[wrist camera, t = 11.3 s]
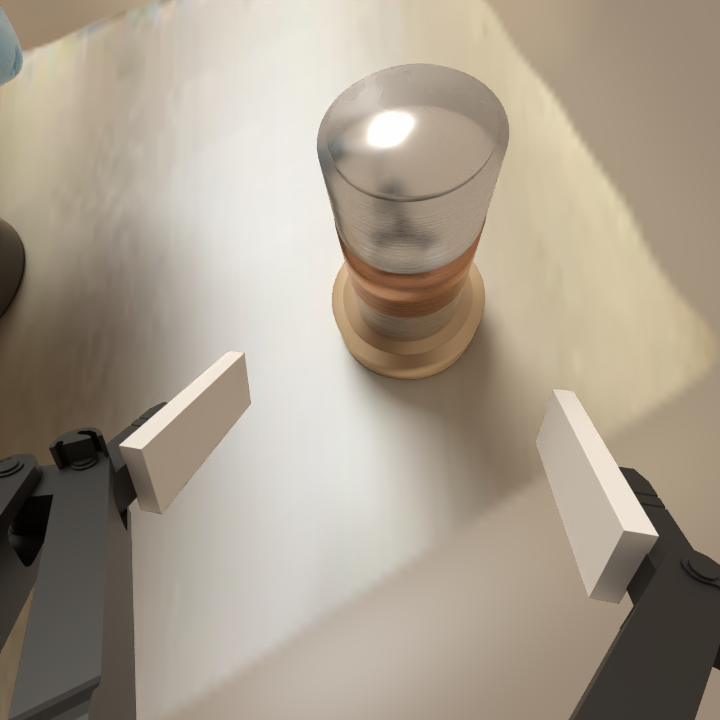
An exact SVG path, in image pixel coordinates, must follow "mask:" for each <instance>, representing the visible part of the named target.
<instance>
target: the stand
mask: <svg viewBox="0 0 720 720" xmlns="http://www.w3.org/2000/svg"><path fill="white" fill-rule="evenodd" d="M484 305H485V290H484V284H483V280H482V277H481V274H480V272H479V270H478V268H477V266H476V265H475V263H474V262H472V265H471V268H470V271H469V274H468V277H467V280H466V283H465V285H464V287H463V290H462V293H461V297H460V300H459V303H458V306H457V309H456V312H455V314H454V316H453V318H452V319H451V321H450V322H449V323H448V324H447V325H446V326H445V327H444V328H443V329H442V330H441V331H440V332H438V333H436V334H435V335H433V336H431V337H429V338H426V339H423V340H419V341H414V342H400V341H394V340H391V339H388V338H385V337H383V336H381V335H379V334H378V333H376V332H375V331H373V330H372V329H371V328H370V327H369V326H368V325H367V324H366V322H365V321H364V319H363V318H362V316H361V314H360V312H359V309H358V305H357V301H356V298H355V294H354V290H353V286H352V284H351V281H350V278H349V275H348V271H347V267H346V264H345V262H344V264H343V265H342V267H341V269H340V270H339V272H338V275H337V277H336V279H335V283H334V286H333V293H332V308H333V314H334V317H335V321H336V323H337V326H338V328H339V330H340V333H341V335H342V337H343V340H344V342H345V344H346V346H347V347H348V349H349V351H350V352H351V353H352V355H353V356H354V357H355V358H356V359H357V360H358V361H359V362H360V363H361V364H362V365H364V366H365V367H367V368H368V369H370V370H371V371H373V372H375V373H377V374H380V375H383V376H386V377H389V378H394V379H404V380H410V379H420V378H425V377H428V376H431V375H434V374H437V373H439V372H441V371H443V370H445V369H446V368H448V367H449V366H451V365H452V364H453V363H454V362H456V361H457V360H458V359H459V358H460V357H461V355H462V354H463V353H464V352H465V350H466V349H467V347H468V346H469V344H470V342H471V340H472V338H473V336H474V334H475V331H476V329H477V327H478V325H479V323H480V321H481V318H482V315H483V312H484Z"/></svg>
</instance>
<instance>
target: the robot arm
mask: <svg viewBox="0 0 720 720" xmlns="http://www.w3.org/2000/svg"><path fill="white" fill-rule="evenodd" d="M22 63H23V57H22V50H21V46H20V43H19V41H18V38H17V36H16V34H15V32H14V30H13V28H12V26H11V24H10V22H9V20H8V18H7V17H6V15H5V13H4V11H3V10H2V8H1V6H0V86H2V85H3V84H5V83H7V82H8V81H10V80H12V79H13V78H15V77H16V76H17V75H18V73H19V72H20V70H21V68H22ZM23 261H24V255H23V247H22V243H21V240H20V238H19V236H18V234H17V232H16V231H15V230H14V228H13V227H12V226H11V225H10V224H8V223H7V222H6V221H4V220H3V219H1V218H0V316H1V314H2V313H3V312H4V310H5V309H6V307H7V306H8V304H9V303H10V301H11V299H12V297H13V295H14V293H15V291H16V289H17V287H18V284H19V281H20V278H21V274H22V270H23ZM250 404H251V401H250V393H249V385H248V377H247V369H246V362H245V354H244V353H241V352H233V351H228V352H227V353H226V354H225V355H223V356H222V357H221V358H220V359H219V360H218V361H217V362H215V363H214V364H213V365H212V366H211V367H210V368H208V369H207V370H206V371H205V372H204V373H203V374H201V375H200V376H199V377H198V378H197V379H196V380H194V381H193V382H192V383H191V384H190V385H189V386H187V387H186V388H185V389H184V390H183V391H182V392H180V393H179V394H178V395H177V396H176V397H175V398H173V399H172V400H171V401H170V402H169V403H166V402H163V403H161V404H159V405H157V406H155V407H153V408H151V409H149V410H148V411H147V412H145V413H144V414H143V415H142V416H141V417H140V418H139V419H137V420H136V421H134V422H133V423H132V424H131V426H128V427H127V428H126V429H125V430H124V431H122V432H121V433H120V434H119V435H117V436H116V437H115V438H114V439H113V440H111V441H110V442H109V443H108V444H107V445H106V444H105V441H104V438H103V436H102V433H101V431H100V430H98V429H96V428H83V429H77V430H74V431H71V432H68V433H66V434H64V435H62V436H60V437H59V438H58V439H56V440H55V441H54V442H53V443H52V444H51V446H50V447H49V449H50V451H51V454H52V456H53V458H54V460H55V462H56V465H50V466H39V464H38V462H37V460H36V458H35V456H33V455H30V454H19V455H15V456H10V457H7V458H5V459H2V460H0V652H1V650H2V648H3V646H4V644H5V642H6V640H7V638H8V636H9V634H10V632H11V630H12V628H13V626H14V624H15V622H16V620H17V618H18V616H19V614H20V612H21V610H22V608H23V606H24V604H25V602H26V600H27V597H28V595H29V593H30V591H31V589H32V587H33V585H34V583H35V581H36V584H35V589H34V594H33V599H32V604H31V609H30V614H29V619H28V624H27V629H26V634H25V639H24V644H23V649H22V654H21V659H20V664H19V669H18V674H17V678H16V683H15V688H14V693H13V698H12V703H11V708H10V713H9V718H8V720H136V693H135V654H134V616H133V577H132V539H131V513H130V510H129V507H128V506H129V505H130V504H131V503H132V502H133V501H134V500H135V498H136V497H137V500H138V503H139V506H140V509H141V510H144V511H149V512H154V513H159V514H162V513H163V512H164V510H165V509H166V508H167V507H168V506H169V504H170V503H171V502H172V501H173V499H174V498H175V497H176V496H177V494H178V493H179V492H180V491H181V489H182V488H183V487H184V486H185V484H186V483H187V482H188V481H189V480H190V478H191V477H192V476H193V475H194V473H195V472H196V471H197V470H198V468H199V467H200V466H201V465H202V463H203V462H204V461H205V460H206V459H207V457H208V456H209V455H210V454H211V452H212V451H213V450H214V449H215V447H216V446H217V445H218V444H219V442H220V441H221V440H222V439H223V438H224V436H225V435H226V434H227V433H228V431H229V430H230V429H231V428H232V426H233V425H234V424H235V423H236V421H237V420H238V419H239V418H240V417H241V415H242V414H243V413H244V412H245V410H246V409H247V408H248V407H249V405H250ZM536 446H537V449H538V452H539V454H540V457H541V460H542V463H543V466H544V469H545V472H546V475H547V478H548V481H549V484H550V486H551V489H552V492H553V495H554V498H555V501H556V504H557V507H558V510H559V512H560V516H561V518H562V521H563V524H564V527H565V530H566V533H567V536H568V539H569V541H570V545H571V548H572V550H573V553H574V556H575V559H576V562H577V565H578V568H579V571H580V574H581V577H582V579H583V582H584V585H585V588H586V591H587V594H588V597H589V598H592V599H597V600H602V601H607V602H613V603H618V604H619V603H620V601H621V600H622V598H623V596H624V594H625V593H626V591H628V594H629V596H630V598H631V600H632V603H633V605H634V607H633V608H632V610H631V611H630V613H629V615H628V616H627V618H626V620H625V621H624V623H623V624H622V626H621V627H620V631H619V632H618V634H617V636H616V638H615V639H614V641H613V643H612V645H611V646H610V648H609V650H608V652H607V653H606V655H605V657H604V659H603V661H602V662H601V664H600V666H599V667H598V669H597V671H596V673H595V675H594V676H593V678H592V680H591V682H590V683H589V685H588V687H587V689H586V690H585V692H584V694H583V696H582V697H581V699H580V701H579V703H578V704H577V706H576V708H575V710H574V712H573V713H572V715H571V717H570V718H569V720H695V717H696V714H697V711H698V708H699V705H700V702H701V699H702V696H703V693H704V690H705V687H706V684H707V681H708V678H709V675H710V672H711V669H712V667H714V668H717V669H719V670H720V565H719V564H718V563H716V562H715V561H713V560H712V559H711V558H709V557H708V556H706V555H704V554H701V553H699V552H697V551H695V550H694V549H693V548H692V546H691V545H690V543H689V542H688V540H687V539H686V538H685V536H684V534H683V533H682V531H681V530H680V528H679V527H678V525H677V524H676V522H675V521H674V519H673V518H672V516H671V515H670V513H669V512H668V510H667V509H665V506H664V504H663V503H662V501H661V500H660V498H658V495H657V494H656V492H655V490H654V489H653V487H652V486H651V484H650V483H649V482H648V481H647V480H646V479H645V478H644V477H643V476H641V475H640V474H639V473H638V472H637V471H636V470H634V469H630V468H623V467H618V466H617V464H616V463H615V461H614V459H613V458H612V456H611V454H610V452H609V451H608V449H607V447H606V446H605V444H604V442H603V441H602V439H601V437H600V436H599V434H598V432H597V430H596V429H595V427H594V425H593V424H592V422H591V420H590V419H589V417H588V415H587V414H586V412H585V410H584V409H583V407H582V405H581V403H580V402H579V400H578V398H577V397H576V395H575V393H574V392H573V391H566V390H557V389H553V390H552V393H551V396H550V399H549V402H548V406H547V409H546V412H545V415H544V418H543V422H542V425H541V428H540V431H539V434H538V438H537V441H536Z"/></svg>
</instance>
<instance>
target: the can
mask: <svg viewBox="0 0 720 720" xmlns="http://www.w3.org/2000/svg"><path fill="white" fill-rule="evenodd" d="M508 140H509V124H508V119H507V115H506V113H505V110H504V108H503V106H502V104H501V103H500V101H499V99H498V98H497V97H496V95H495V94H494V93H493V92H492V91H491V90H490V89H489V88H488V87H487V86H486V85H485V84H483V83H482V82H480V81H479V80H477V79H476V78H474V77H472V76H470V75H468V74H466V73H463V72H461V71H458V70H455V69H452V68H448V67H444V66H440V65H433V64H407V65H400V66H395V67H391V68H388V69H384V70H381V71H379V72H376V73H374V74H372V75H370V76H367V77H365V78H363V79H362V80H360V81H358V82H356V83H355V84H353V85H352V86H351V87H349V88H348V89H346V90H345V91H344V92H343V93H342V94H341V95H340V96H339V97H338V98H337V99H336V100H335V101H334V102H333V103H332V105H331V106H330V108H329V109H328V110H327V112H326V114H325V116H324V118H323V120H322V122H321V125H320V128H319V131H318V137H317V152H318V158H319V162H320V166H321V169H322V173H323V177H324V181H325V184H326V188H327V192H328V196H329V200H330V203H331V207H332V211H333V215H334V220H335V226H336V230H337V234H338V238H339V241H340V245H341V249H342V252H343V256H344V260H345V264H346V267H347V271H348V275H349V278H350V281H351V284H352V286H353V290H354V294H355V298H356V301H357V305H358V309H359V312H360V314H361V316H362V318H363V319H364V321H365V322H366V324H367V325H368V326H369V327H370V328H371V329H372V330H373V331H375V332H376V333H378V334H379V335H381V336H383V337H385V338H388V339H391V340H394V341H400V342H414V341H419V340H423V339H426V338H429V337H431V336H433V335H435V334H436V333H438V332H440V331H441V330H442V329H443V328H444V327H445V326H446V325H447V324H448V323H449V322H450V321H451V319H452V318H453V316H454V314H455V312H456V309H457V306H458V303H459V300H460V297H461V293H462V290H463V287H464V285H465V283H466V280H467V277H468V274H469V271H470V268H471V265H472V262H473V258H474V255H475V252H476V249H477V246H478V243H479V240H480V236H481V233H482V230H483V227H484V224H485V220H486V214H487V210H488V207H489V204H490V201H491V198H492V194H493V191H494V188H495V185H496V182H497V178H498V175H499V172H500V169H501V166H502V162H503V159H504V156H505V153H506V150H507V146H508Z"/></svg>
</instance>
